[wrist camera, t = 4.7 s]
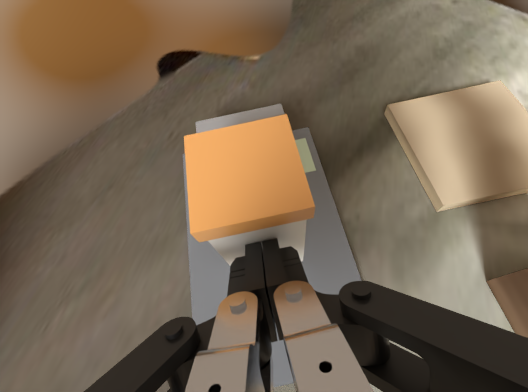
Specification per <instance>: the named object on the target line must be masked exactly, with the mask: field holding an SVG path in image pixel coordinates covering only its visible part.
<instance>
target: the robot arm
mask: <svg viewBox="0 0 528 392" xmlns="http://www.w3.org/2000/svg"><path fill="white" fill-rule="evenodd" d="M262 247H263V248H262ZM275 324H276V325H275ZM276 328H277V333H278V337H279V341H280V340H284V345H285V349H286V353H287V358H288V362H289V366H290V370H291V374H292V378H293V382H294V386H295V390H296V392H374V391H373V389H372V388H371V386H370V384H372V385H374V386H375V387H377V388H378V389H380V390H381V391H383V392H528V338H527V337H524V336H521V335H518V334H515V333H513V332H510V331H507V330H504V329H501V328H499V327H496V326H493V325H490V324H487V323H484V322H482V321H479V320H476V319H473V318H470V317H468V316H465V315H462V314H459V313H456V312H453V311H451V310H448V309H445V308H442V307H439V306H437V305H434V304H431V303H428V302H425V301H422V300H420V299H417V298H414V297H411V296H408V295H406V294H403V293H400V292H397V291H394V290H391V289H389V288H386V287H383V286H380V285H377V284H375V283H372V282H368V281H354V282H350V283H347V284H345V285H344V286H343V287H342V288H341V289H340V291H339V294H324V293H320V292H317V291H315V290H314V289H313V287H312V286H311V285H310V284H309V282H308V279H307V277H306V274H305V271H304V268H303V265H302V263H301V260H300V257H299V254H298V251H297V250H296V249H294V248H293V247H291V246H289V247H284V248H279V244H278V239H277V238H275V239H271V240H266V241H262V244H261V242H257V243H252V244H247V245H245V256H242V257H237V258H235V260H234V261H233V262H232V264H231V266H230V275H229V284H228V292H227V297H226V298H225V299H224V300H223V301H222V302H221V303H220V305H219V307H218V311H217V315H216V316H215V317H213V318H211V319H209V320H207V321H205V322H203V323H201V324H198V325H196V323H195V321H194V320H193V319H192V318H190V317H179V318H175V319H173V320H170V321H169V322H167V323H165V324H164V325H163V326H161V327H160V328H159V329H158V330H156V331H155V332H154V333H153V334H152V335H151V336H149V337H148V338H147V339H146V340H145V341H143V342H142V343H141V344H140V345H139V346H138V347H136V348H135V349H134V350H133V351H132V352H130V353H129V354H128V355H127V356H126V357H124V358H123V359H122V360H121V361H120V362H119V363H117V364H116V365H115V366H114V367H113V368H111V369H110V370H109V371H108V372H107V373H105V374H104V375H103V376H102V377H101V378H100V379H98V380H97V381H96V382H95V383H94V384H92V385H91V386H90V387H89V388H88V389H86V390H85V391H84V392H156V391H157V389H158V388H159V387H160V386H161V385H162V384H163V383H164V382H165V381H166V380H167V381H168V383H169V386H170V389H169V390H168V391H167V392H274V387H273V359H272V345H271V342H276V341H278V340H277V333H276ZM389 340H391V341H393V342H395V343H397V344H399V345H401V346H403V347H405V348H407V349H409V350H411V351H413V352H415V353H417V354H418V355H420V356H421V357H422V358H423V359H422V358H420V357H418V356H416V355H414V354H412V353H410V352H408V351H406V350H404V349H402V348H400V347H398V346H396V345H394V344H392V343H390V342H389ZM369 383H370V384H369Z"/></svg>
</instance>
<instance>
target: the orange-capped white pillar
mask: <svg viewBox="0 0 528 392" xmlns="http://www.w3.org/2000/svg"><path fill="white" fill-rule="evenodd" d="M184 144H185V160H186V175H187V191H188V207H189V223H190V234H191V235H192V236H193V237H194V238H195V239H196V240H197V241H198V242H204V241H208V242H209V243H210V244H211V245H212V246H213V247H214V248H215V249H216V251H217V252H218V253H219V254H220V255H221V256H222V257H223V259H224V260H225V261H226V262H227V263H228V264H229V265H230V266H231V264H232V262H233V261H234V260H235V258H237V257H242V256H245V245H247V244H252V243H257V242H261V244H262V241H266V240H271V239H275V238H277V239H278V244H279V248H284V247H289V246H291V247H293V248H294V249H296V250H297V251H298V254H299V257H300V260H301V261H303V257H304V245H305V233H306V221H307V219H311V218H314V212H315V204H314V201H313V198H312V195H311V191H310V188H309V185H308V181H307V178H306V175H305V172H304V168H303V165H302V162H301V159H300V155H299V152H298V149H297V146H296V142H295V139H294V136H293V133H292V129H291V126H290V123H289V119H288V116H287V114H284V115H279V116H275V117H270V118H265V119H261V120H256V121H251V122H247V123H242V124H238V125H233V126H228V127H224V128H219V129H215V130H210V131H205V132H201V133H196V134H192V135H187V136H184ZM262 248H263V247H262Z"/></svg>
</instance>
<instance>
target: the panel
mask: <svg viewBox="0 0 528 392" xmlns="http://www.w3.org/2000/svg"><path fill="white" fill-rule="evenodd" d="M279 115H284V111H283V107H282V104H276V105H272V106H267V107H263V108H258V109H253V110H249V111H244V112H239V113H235V114H230V115H226V116H221V117H216V118H212V119H207V120H203V121H198V122H196V133H201V132H205V131H210V130H215V129H219V128H224V127H228V126H233V125H238V124H242V123H247V122H251V121H256V120H261V119H265V118H270V117H275V116H279ZM292 133H293V136H294V139H295V142H296V146H297V149H298V152H299V155H300V159H301V162H302V165H303V168H304V172H305V175H306V178H307V181H308V185H309V188H310V191H311V195H312V198H313V201H314V204H315V212H314V218H311V219H307V221H306V233H305V245H304V257H303V261H301V263H302V265H303V268H304V271H305V274H306V277H307V279H308V282H309V284H310V285H311V286H312V287H313V289H314V290H315V291H317V292H320V293H324V294H339V291H340V289H341V288H342V287H343V286H344V285H345V284H347V283H350V282H354V281H362V280H361V278H360V275H359V272H358V269H357V266H356V263H355V260H354V257H353V254H352V252H351V249H350V246H349V243H348V240H347V237H346V234H345V231H344V228H343V226H342V223H341V220H340V217H339V214H338V211H337V208H336V205H335V202H334V200H333V197H332V194H331V191H330V188H329V185H328V182H327V179H326V176H325V174H324V171H323V168H322V165H321V162H320V159H319V156H318V153H317V150H316V148H315V145H314V142H313V139H312V136H311V133H310V130H309V127H306V128H301V129H297V130H292ZM183 166H184V183H185V200H186V217H187V235H188V252H189V269H190V286H191V303H192V319H193V320H194V321H195V323H196V325H198V324H201V323H203V322H205V321H207V320H209V319H211V318H213V317H215V316H216V315H217V311H218V307H219V305H220V303H221V302H222V301H223V300H224V299H225V298H226V297H227V292H228V284H229V275H230V265H229V264H228V263H227V262H226V261H225V260H224V259H223V257H222V256H221V255H220V254H219V253H218V252H217V251H216V249H215V248H214V247H213V246H212V245H211V244H210V243H209V242H208V241H204V242H198V241H197V240H196V239H195V238H194V237H193V236H192V235H191V234H190V223H189V207H188V191H187V175H186V160H185V154H183ZM275 325H276V324H275ZM276 333H277V328H276ZM277 340H278V341H276V342H271V345H272V359H273V387H277V386H282V385H287V384H291V383H294V382H293V378H292V374H291V370H290V366H289V362H288V358H287V353H286V349H285V345H284V340H280V341H279V337H278V333H277Z"/></svg>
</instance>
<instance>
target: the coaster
mask: <svg viewBox="0 0 528 392" xmlns="http://www.w3.org/2000/svg"><path fill="white" fill-rule="evenodd" d="M384 114H385V116H386V118H387V120H388V122H389V124H390V126H391V128H392V129H393V131H394V133H395V135H396V137H397V139H398V141H399V142H400V144H401V146H402V148H403V150H404V152H405V154H406V156H407V157H408V159H409V161H410V163H411V165H412V167H413V169H414V171H415V172H416V174H417V176H418V178H419V180H420V182H421V184H422V186H423V187H424V189H425V191H426V193H427V195H428V197H429V199H430V201H431V202H432V204H433V206H434V208H435V210H436V212H439V211H444V210H448V209H453V208H458V207H462V206H467V205H472V204H476V203H481V202H486V201H490V200H495V199H500V198H504V197H509V196H514V195H518V194H523V193H528V111H527V110H526V109H525V108H524V107H523V106H522V105H521V103H520V102H519V101H518V100H517V99H516V98H515V97H514V95H513V94H512V93H511V92H510V91H509V90H508V89H507V87H506V86H505V85H504V84H503V83H502V82H501V80H500V81H495V82H490V83H486V84H481V85H476V86H472V87H467V88H463V89H458V90H453V91H449V92H444V93H439V94H435V95H430V96H426V97H421V98H416V99H412V100H407V101H403V102H398V103H393V104H389V105H387V108H386V111H385V113H384Z"/></svg>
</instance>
